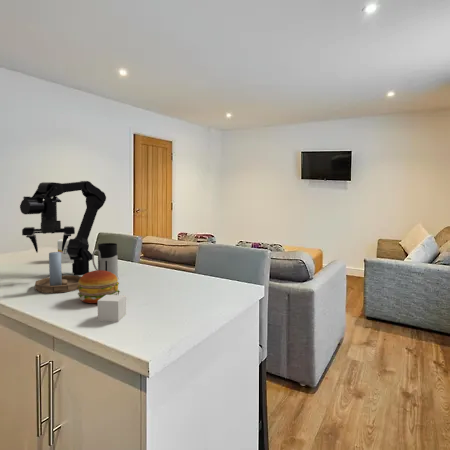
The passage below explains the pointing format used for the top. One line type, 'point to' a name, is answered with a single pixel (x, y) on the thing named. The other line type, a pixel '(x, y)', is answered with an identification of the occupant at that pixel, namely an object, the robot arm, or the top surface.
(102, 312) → the white cube
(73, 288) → the tray
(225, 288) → the top surface
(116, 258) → the grey jug
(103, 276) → the burger
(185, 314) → the top surface
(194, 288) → the top surface
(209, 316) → the top surface
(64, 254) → the ink box
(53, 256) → the peg
